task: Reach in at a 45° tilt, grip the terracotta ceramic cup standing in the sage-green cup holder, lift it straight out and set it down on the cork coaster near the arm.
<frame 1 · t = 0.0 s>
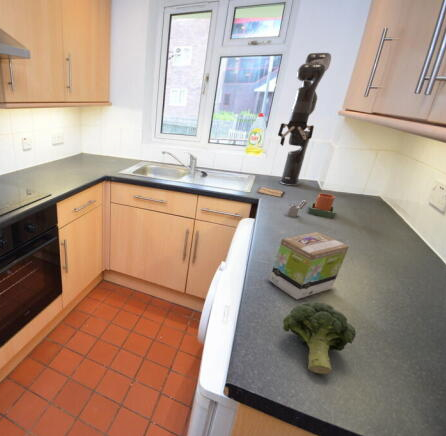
hand: (291, 146, 145), 29 cm above the countertop, tool pointing down, fingers open, 8 cm apart
coaster: (270, 192, 173), on the countertop
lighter: (294, 216, 140), on the countertop
vegetable: (312, 352, 65), on the countertop
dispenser: (320, 213, 144), on the countertop
tea box: (300, 285, 88), on the countertop
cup: (323, 204, 143), in the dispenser
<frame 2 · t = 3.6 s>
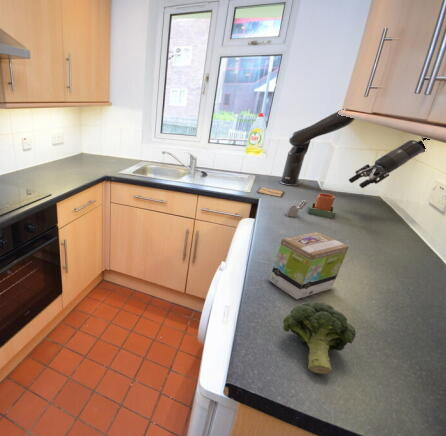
hand: (355, 183, 137), 16 cm above the countertop, tool tilted 45°, fingers open, 8 cm apart
nothing on the countertop moved.
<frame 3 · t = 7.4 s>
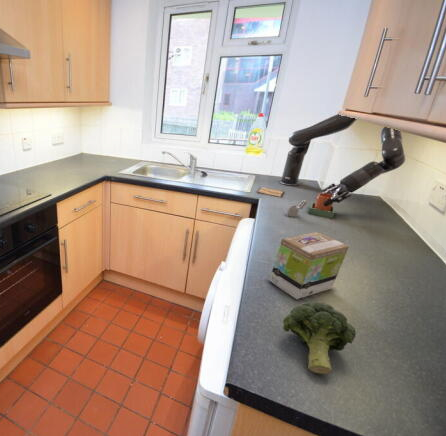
hand: (320, 202, 142), 5 cm above the countertop, tool tilted 45°, fingers closed on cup, 6 cm apart
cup: (323, 204, 143), in the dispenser, touching gripper
everything else where it was.
when the fingers open (6 cm above the countertop, at t = 18.8 s): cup stays where it is, resting on coaster.
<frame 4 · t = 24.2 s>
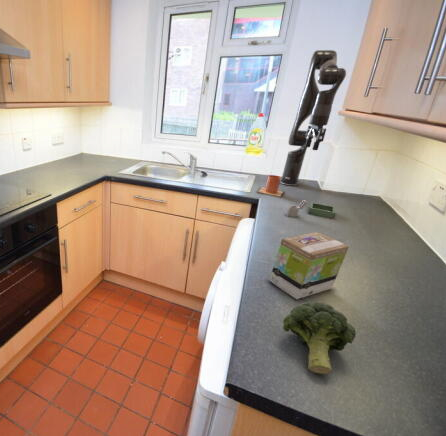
hand: (310, 148, 149), 28 cm above the countertop, tool pointing down, fingers open, 8 cm apart
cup: (272, 184, 171), on the coaster
everything else where it was.
at the end: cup inside the target area on the coaster (0.1 cm from its centre), point 5.0 cm above the coaster's base; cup tilted 0°; the gripper is holding nothing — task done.
